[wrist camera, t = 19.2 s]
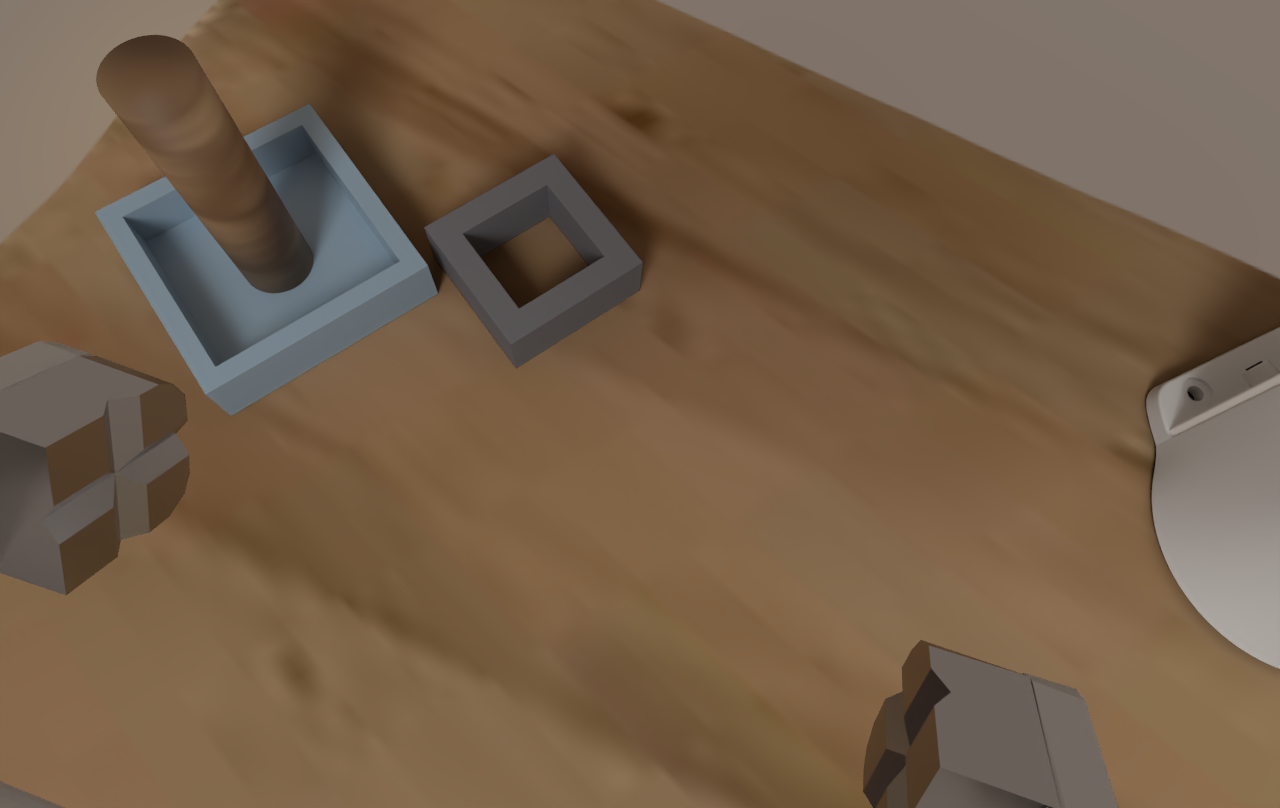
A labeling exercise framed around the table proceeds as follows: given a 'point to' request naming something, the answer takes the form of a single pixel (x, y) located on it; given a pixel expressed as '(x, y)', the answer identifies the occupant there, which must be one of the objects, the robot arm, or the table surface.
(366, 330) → the tray
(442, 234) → the socket block
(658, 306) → the table surface
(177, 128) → the dowel
